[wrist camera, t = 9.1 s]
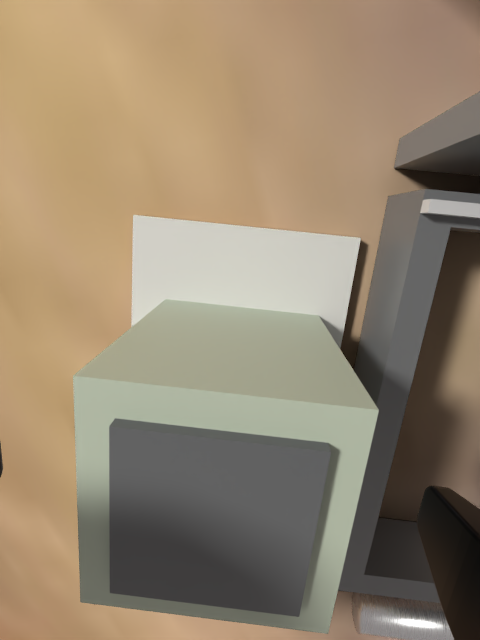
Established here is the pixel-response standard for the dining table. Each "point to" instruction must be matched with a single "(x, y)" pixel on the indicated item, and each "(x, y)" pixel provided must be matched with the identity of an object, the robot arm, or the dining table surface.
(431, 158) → the case lid open
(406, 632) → the rod
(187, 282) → the pad
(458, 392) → the dining table surface
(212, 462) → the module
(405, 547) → the case base
